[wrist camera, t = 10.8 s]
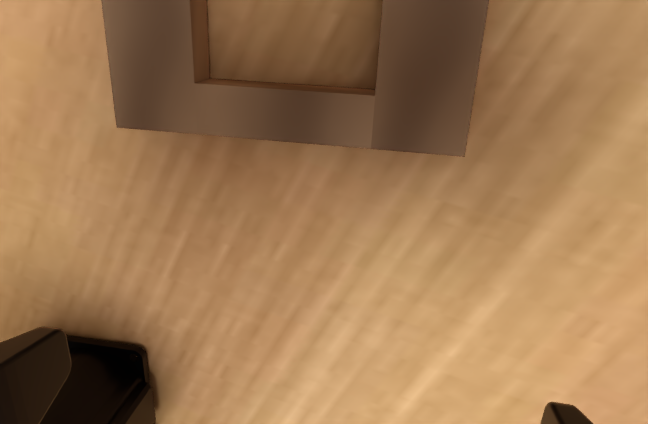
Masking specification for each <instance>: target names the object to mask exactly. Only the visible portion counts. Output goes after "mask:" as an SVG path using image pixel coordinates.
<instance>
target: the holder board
mask: <svg viewBox="0 0 648 424" xmlns="http://www.w3.org/2000/svg"><path fill="white" fill-rule="evenodd" d="M101 1H102V9H103V17H104V26H105V34H106V42H107V51H108V59H109V67H110V75H111V84H112V92H113V100H114V109H115V117H116V125H117V128H129V129H141V130H153V131H165V132H177V133H189V134H201V135H212V136H224V137H236V138H248V139H260V140H272V141H284V142H296V143H308V144H320V145H332V146H343V147H355V148H367V149H379V150H391V151H403V152H415V153H427V154H439V155H451V156H463V157H465V150H466V144H467V137H468V131H469V125H470V118H471V112H472V105H473V99H474V93H475V86H476V80H477V73H478V67H479V61H480V54H481V48H482V41H483V35H484V29H485V22H486V16H487V9H488V3H489V0H383V4H382V17H381V29H380V42H379V54H378V66H377V79H376V90H375V89H360V88H345V87H330V86H316V85H301V84H286V83H271V82H256V81H241V80H226V79H211V78H210V66H209V44H208V22H207V0H101Z"/></svg>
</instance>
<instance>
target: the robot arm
mask: <svg viewBox="0 0 648 424" xmlns="http://www.w3.org/2000/svg"><path fill="white" fill-rule="evenodd" d="M134 354H135V355H136V356H137V357H136V356H135V355H134ZM154 422H155V410H154V402H153V393H152V387H151V385H150V382H149V373H148V365H147V356H146V352H145V351H144V349H143V348H141V347H139V346H135V345H129V344H122V343H115V342H109V341H102V340H95V339H89V338H82V337H75V336H68V335H66V334H65V332H64V331H63V330H61V329H58V328H51V327H39V328H37V329H34V330H32V331H29V332H26V333H24V334H21V335H19V336H16V337H14V338H11V339H9V340H6V341H3V342H1V343H0V424H154ZM541 424H593V423H592V422H591V421H590V420H589V419H588V418H587V417H586V416H585V415H584V414H583V413H582V412H581V411H580V410H579V409H578V408H576V407H575V406H573V405H570V404H563V403H557V402H550V403H548V404H547V405H546V407H545V410H544V413H543V417H542V420H541Z"/></svg>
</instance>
